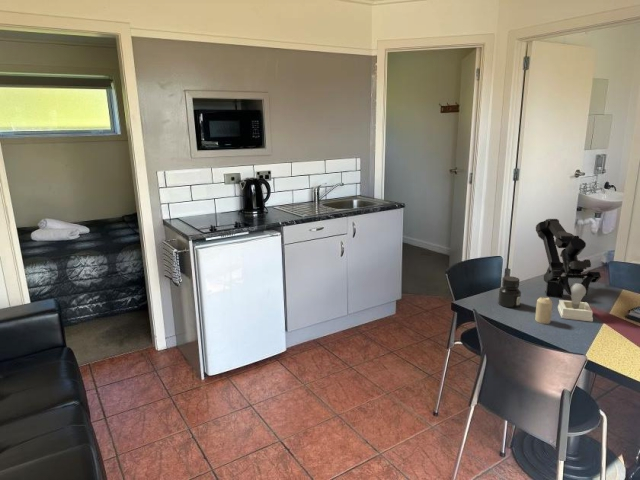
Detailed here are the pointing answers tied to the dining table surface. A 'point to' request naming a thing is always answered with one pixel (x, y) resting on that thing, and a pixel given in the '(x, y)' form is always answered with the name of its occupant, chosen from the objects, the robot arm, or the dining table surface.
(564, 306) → the socket
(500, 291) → the ink bottle
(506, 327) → the dining table surface
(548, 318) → the candle
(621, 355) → the dining table surface
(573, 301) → the lightbulb
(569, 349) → the dining table surface
